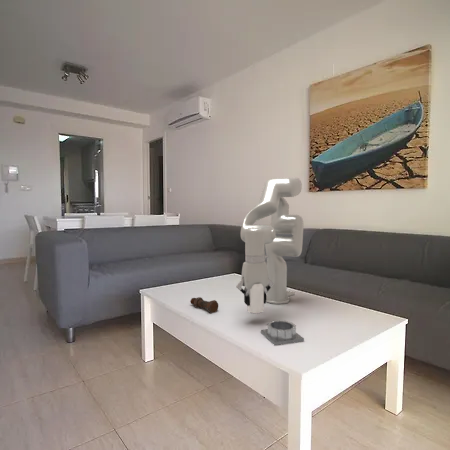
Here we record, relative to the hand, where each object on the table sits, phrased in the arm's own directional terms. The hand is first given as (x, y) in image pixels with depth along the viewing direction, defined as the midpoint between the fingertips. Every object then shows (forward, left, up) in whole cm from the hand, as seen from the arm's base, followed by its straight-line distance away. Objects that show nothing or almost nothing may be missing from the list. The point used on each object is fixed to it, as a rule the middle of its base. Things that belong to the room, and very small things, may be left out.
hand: (255, 303), depth 120 cm
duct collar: (-3, +16, -7) cm, 18 cm away
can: (0, 0, -3) cm, 3 cm away
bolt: (+16, -22, -8) cm, 28 cm away
